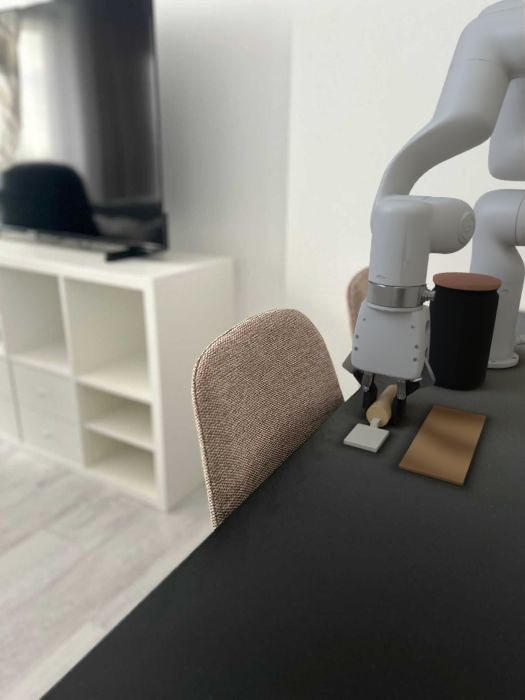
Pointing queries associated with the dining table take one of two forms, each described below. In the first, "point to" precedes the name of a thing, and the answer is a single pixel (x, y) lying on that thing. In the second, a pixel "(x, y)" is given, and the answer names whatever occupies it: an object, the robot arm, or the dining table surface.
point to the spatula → (374, 423)
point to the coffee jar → (462, 328)
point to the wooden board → (444, 445)
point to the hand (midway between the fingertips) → (382, 415)
